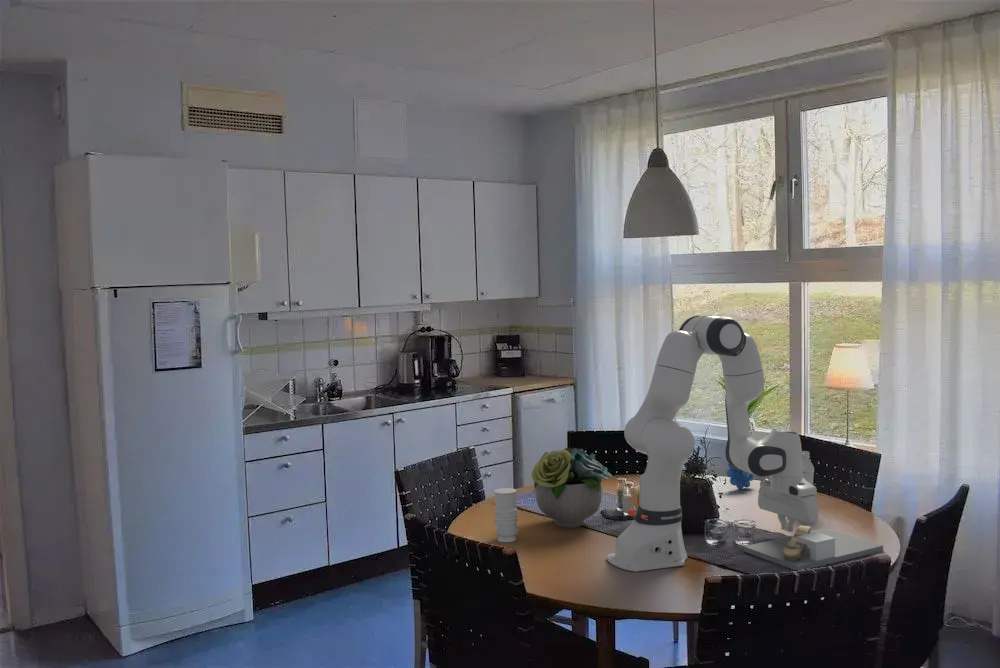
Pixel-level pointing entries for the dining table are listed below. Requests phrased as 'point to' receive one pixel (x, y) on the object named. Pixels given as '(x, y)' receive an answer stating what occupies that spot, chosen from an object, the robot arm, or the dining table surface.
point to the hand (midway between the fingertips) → (787, 530)
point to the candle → (506, 514)
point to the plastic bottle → (807, 467)
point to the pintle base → (805, 562)
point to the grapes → (739, 477)
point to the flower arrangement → (568, 485)
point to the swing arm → (796, 552)
